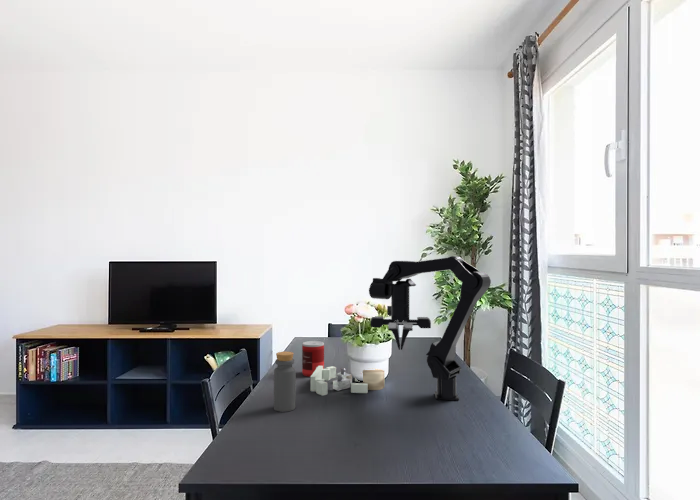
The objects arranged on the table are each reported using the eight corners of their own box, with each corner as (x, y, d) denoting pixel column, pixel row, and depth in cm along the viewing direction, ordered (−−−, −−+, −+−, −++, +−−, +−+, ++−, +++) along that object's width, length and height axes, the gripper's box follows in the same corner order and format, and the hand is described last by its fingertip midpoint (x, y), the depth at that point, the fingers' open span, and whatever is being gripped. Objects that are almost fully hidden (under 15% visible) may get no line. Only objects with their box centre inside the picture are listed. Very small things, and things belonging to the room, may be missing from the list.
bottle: (291, 412, 118) (291, 355, 118) (270, 411, 119) (270, 354, 119) (298, 405, 123) (298, 351, 124) (278, 404, 125) (278, 350, 125)
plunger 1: (345, 385, 141) (345, 372, 141) (350, 387, 139) (350, 374, 140) (332, 388, 138) (332, 375, 138) (337, 390, 136) (337, 377, 136)
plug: (384, 390, 138) (384, 374, 138) (361, 390, 138) (361, 373, 139) (384, 384, 145) (384, 368, 145) (363, 383, 145) (363, 368, 145)
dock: (366, 397, 131) (366, 381, 131) (308, 395, 133) (308, 379, 133) (370, 377, 152) (370, 364, 153) (320, 375, 154) (320, 362, 154)
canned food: (325, 371, 160) (325, 341, 161) (322, 377, 152) (322, 345, 153) (304, 371, 161) (304, 340, 161) (300, 376, 153) (300, 344, 153)
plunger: (352, 382, 145) (352, 370, 145) (346, 383, 144) (346, 371, 144) (342, 379, 149) (342, 367, 149) (336, 380, 148) (336, 368, 148)
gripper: (428, 298, 148) (428, 345, 148) (372, 297, 150) (372, 344, 150) (430, 301, 137) (430, 352, 137) (370, 300, 139) (370, 350, 139)
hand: (400, 349), depth 141 cm, fingers closed
